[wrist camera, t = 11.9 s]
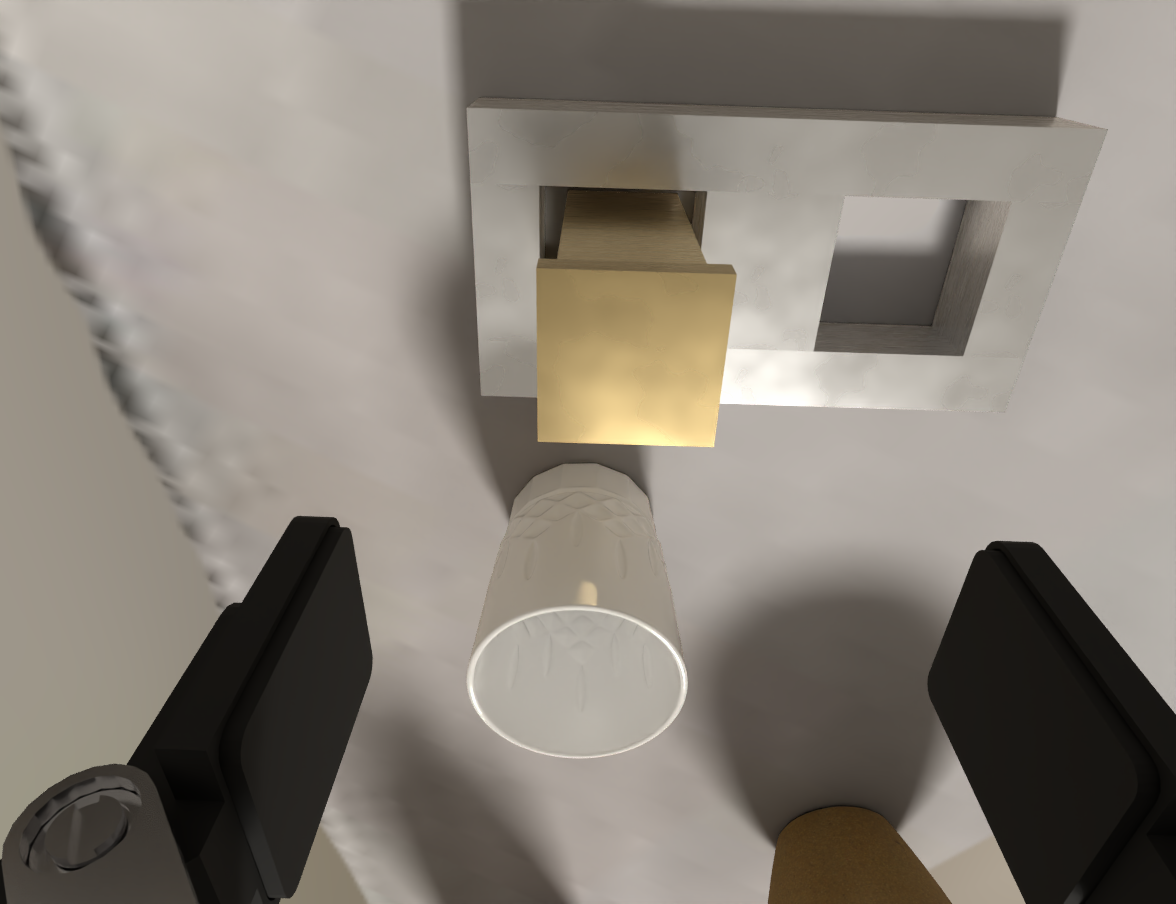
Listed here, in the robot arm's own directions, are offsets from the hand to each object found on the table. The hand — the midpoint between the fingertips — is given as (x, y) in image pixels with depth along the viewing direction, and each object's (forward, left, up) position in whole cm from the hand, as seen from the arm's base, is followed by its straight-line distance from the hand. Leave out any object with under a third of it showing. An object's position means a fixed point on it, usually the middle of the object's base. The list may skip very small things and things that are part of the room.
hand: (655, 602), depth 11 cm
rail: (-5, 0, -20) cm, 20 cm away
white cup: (+1, +13, -20) cm, 24 cm away
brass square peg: (0, 0, -20) cm, 20 cm away
